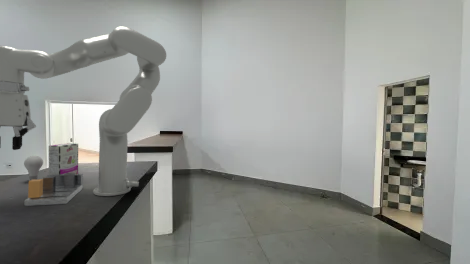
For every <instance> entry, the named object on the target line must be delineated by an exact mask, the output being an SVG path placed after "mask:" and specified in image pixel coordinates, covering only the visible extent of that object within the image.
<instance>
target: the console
mask: <svg viewBox="0 0 470 264" xmlns="http://www.w3.org/2000/svg"><path fill="white" fill-rule="evenodd" d="M42 179H43V195H42V196H41V197H38V198H28V197H27V198H26V199H24V207H28V206H29V207H30V206H31V207H32V206H45V205H46V206H49V205H63V204H65V205H66V204H69V202H70V201H71V200H72V199H73V198H74V197H76V196H77V195H78V194H79V192H81V191H82V190H83V188H84V187H83V186H84V185H83V184H84V174H83V173H78V174H75V173H66V174H54V175H49V174H47V175H46V176H44V177H42Z"/></svg>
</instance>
